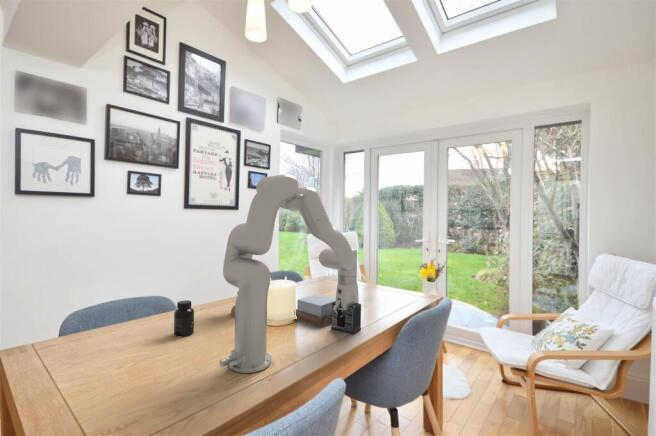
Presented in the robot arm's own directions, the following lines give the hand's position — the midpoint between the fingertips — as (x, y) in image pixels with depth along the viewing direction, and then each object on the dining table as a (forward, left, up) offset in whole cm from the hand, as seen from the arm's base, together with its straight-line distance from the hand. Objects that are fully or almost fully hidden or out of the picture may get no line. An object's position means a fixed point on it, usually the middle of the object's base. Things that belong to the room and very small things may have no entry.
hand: (346, 323), depth 124 cm
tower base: (+2, +16, -3) cm, 16 cm away
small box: (0, 0, -2) cm, 2 cm away
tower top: (+2, +16, +2) cm, 16 cm away
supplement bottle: (-44, +43, -2) cm, 62 cm away
